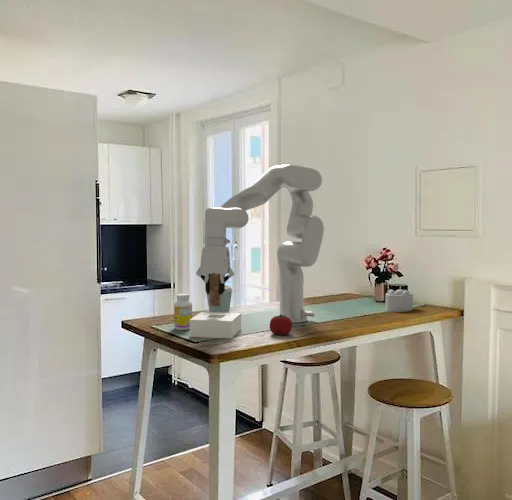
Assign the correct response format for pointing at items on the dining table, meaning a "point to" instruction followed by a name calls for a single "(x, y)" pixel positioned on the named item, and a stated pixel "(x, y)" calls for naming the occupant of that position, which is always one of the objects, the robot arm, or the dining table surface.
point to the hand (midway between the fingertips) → (215, 293)
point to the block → (215, 325)
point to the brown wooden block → (214, 290)
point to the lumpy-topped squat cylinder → (399, 301)
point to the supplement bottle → (182, 312)
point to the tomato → (280, 325)
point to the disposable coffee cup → (222, 301)
